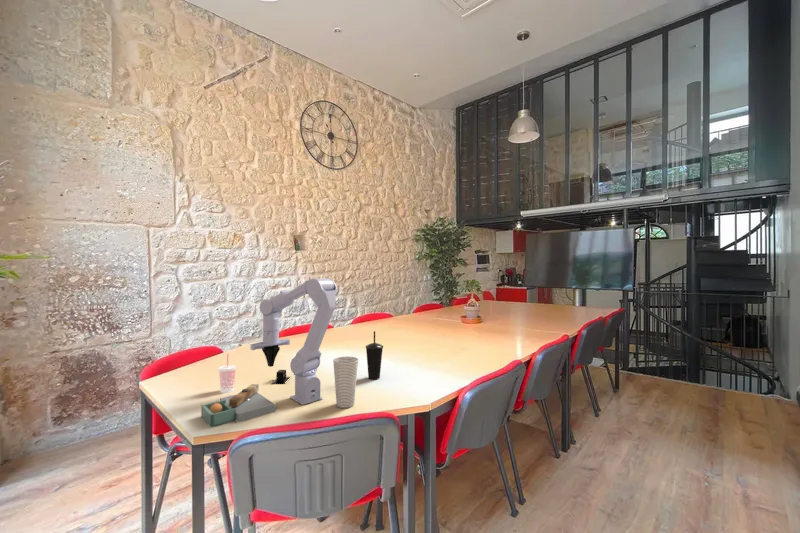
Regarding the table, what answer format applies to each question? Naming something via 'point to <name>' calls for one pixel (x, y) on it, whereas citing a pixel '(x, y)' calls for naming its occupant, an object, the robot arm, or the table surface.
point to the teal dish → (218, 414)
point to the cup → (345, 380)
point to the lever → (243, 395)
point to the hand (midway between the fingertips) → (270, 366)
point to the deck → (252, 407)
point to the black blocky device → (281, 377)
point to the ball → (216, 408)
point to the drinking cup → (374, 359)
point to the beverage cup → (227, 377)
